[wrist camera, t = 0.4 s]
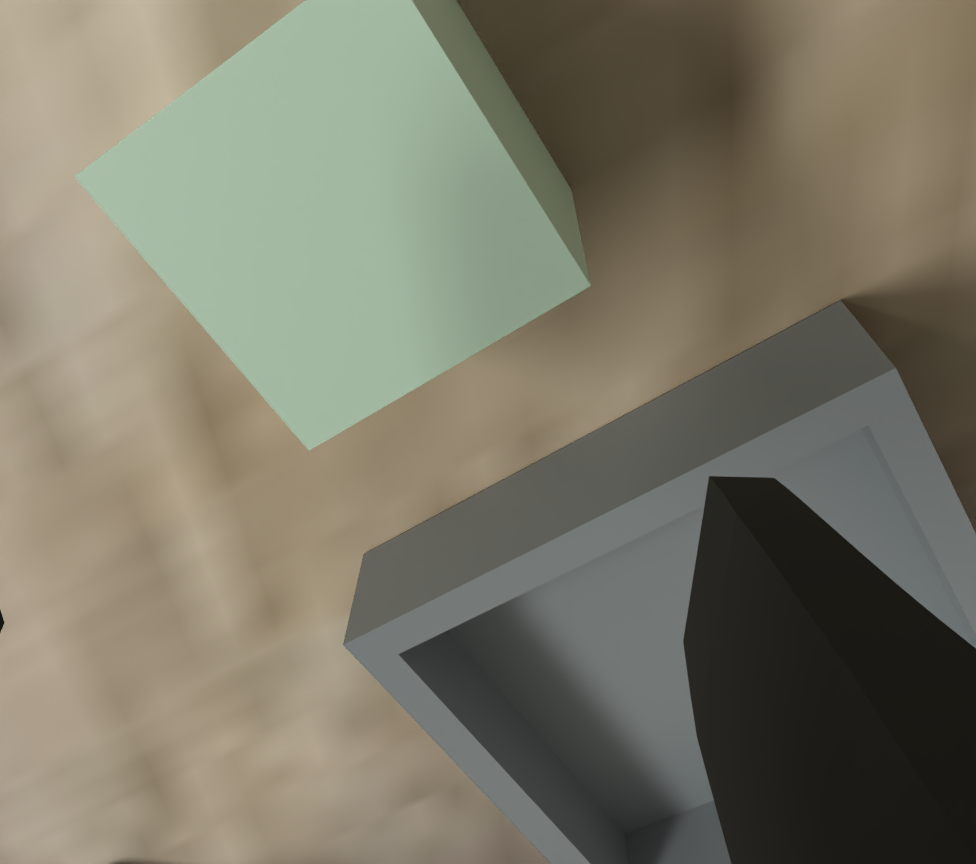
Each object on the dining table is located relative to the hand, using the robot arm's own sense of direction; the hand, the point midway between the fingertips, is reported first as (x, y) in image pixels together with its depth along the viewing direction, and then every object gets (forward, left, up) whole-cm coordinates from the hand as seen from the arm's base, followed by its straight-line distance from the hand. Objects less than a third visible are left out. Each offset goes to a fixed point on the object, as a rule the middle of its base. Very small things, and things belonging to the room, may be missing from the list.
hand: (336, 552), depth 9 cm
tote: (-8, -8, -10) cm, 15 cm away
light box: (+2, +1, -10) cm, 10 cm away
